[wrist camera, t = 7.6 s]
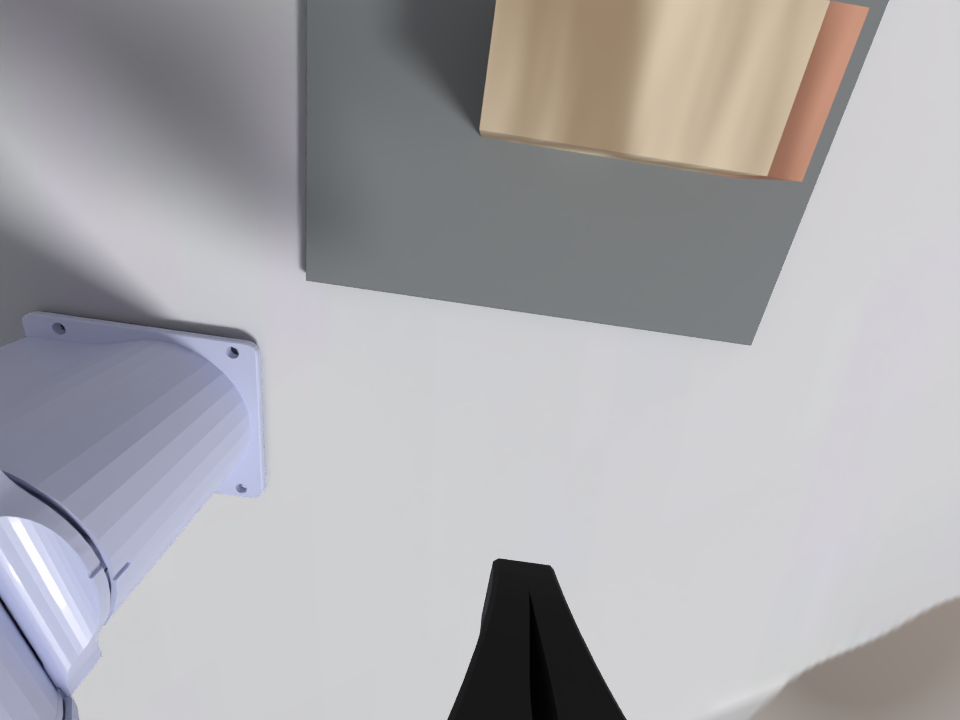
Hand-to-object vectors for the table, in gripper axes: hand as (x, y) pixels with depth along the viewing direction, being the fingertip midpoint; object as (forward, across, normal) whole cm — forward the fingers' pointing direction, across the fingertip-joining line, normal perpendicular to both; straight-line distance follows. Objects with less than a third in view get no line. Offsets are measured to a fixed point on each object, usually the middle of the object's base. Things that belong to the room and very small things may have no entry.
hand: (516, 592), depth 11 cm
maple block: (+8, +3, -12) cm, 15 cm away
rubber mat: (+10, 0, -11) cm, 15 cm away
